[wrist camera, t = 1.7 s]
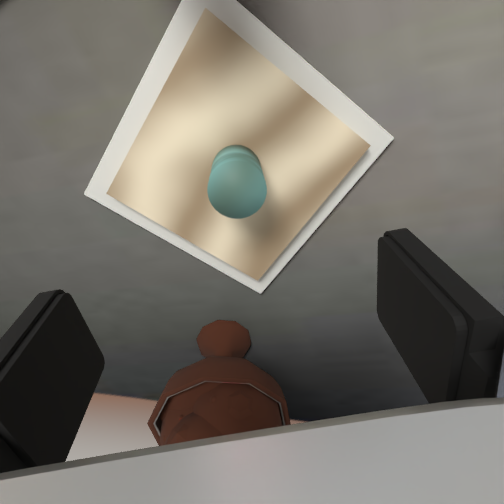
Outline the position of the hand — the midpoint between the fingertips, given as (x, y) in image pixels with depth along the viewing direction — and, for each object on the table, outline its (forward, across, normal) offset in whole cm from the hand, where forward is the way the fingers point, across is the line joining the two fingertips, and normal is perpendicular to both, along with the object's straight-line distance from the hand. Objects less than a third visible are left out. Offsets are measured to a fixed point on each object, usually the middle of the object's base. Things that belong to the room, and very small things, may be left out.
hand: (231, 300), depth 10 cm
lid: (+17, 0, 0) cm, 17 cm away
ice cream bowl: (+18, +4, +18) cm, 26 cm away
